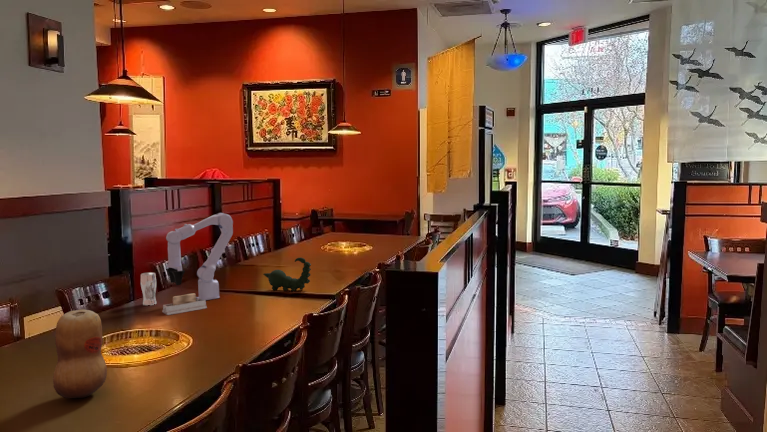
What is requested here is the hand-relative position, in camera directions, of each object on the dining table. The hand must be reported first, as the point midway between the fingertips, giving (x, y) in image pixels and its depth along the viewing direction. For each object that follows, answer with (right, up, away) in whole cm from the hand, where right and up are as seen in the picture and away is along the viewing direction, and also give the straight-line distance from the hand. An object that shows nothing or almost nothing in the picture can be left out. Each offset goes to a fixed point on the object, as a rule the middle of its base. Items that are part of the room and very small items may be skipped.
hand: (175, 283), depth 266 cm
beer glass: (-12, -10, -1) cm, 16 cm away
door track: (+9, -11, -14) cm, 20 cm away
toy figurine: (+50, -7, +23) cm, 56 cm away
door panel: (+9, -10, -14) cm, 19 cm away
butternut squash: (+14, -20, -107) cm, 110 cm away
